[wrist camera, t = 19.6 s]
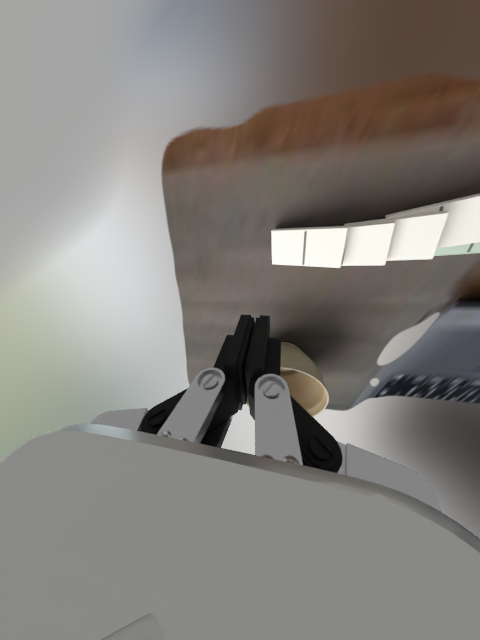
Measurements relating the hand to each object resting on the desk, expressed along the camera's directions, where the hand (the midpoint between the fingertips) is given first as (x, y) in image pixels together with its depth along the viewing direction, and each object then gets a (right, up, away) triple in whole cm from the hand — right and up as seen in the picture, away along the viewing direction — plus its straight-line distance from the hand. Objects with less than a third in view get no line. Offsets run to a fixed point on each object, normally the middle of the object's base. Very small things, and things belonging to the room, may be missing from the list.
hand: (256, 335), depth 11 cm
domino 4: (+19, +13, +14) cm, 27 cm away
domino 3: (+14, +12, +16) cm, 24 cm away
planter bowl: (+9, -8, +32) cm, 34 cm away
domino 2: (+9, +12, +17) cm, 23 cm away
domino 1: (+4, +13, +18) cm, 22 cm away
